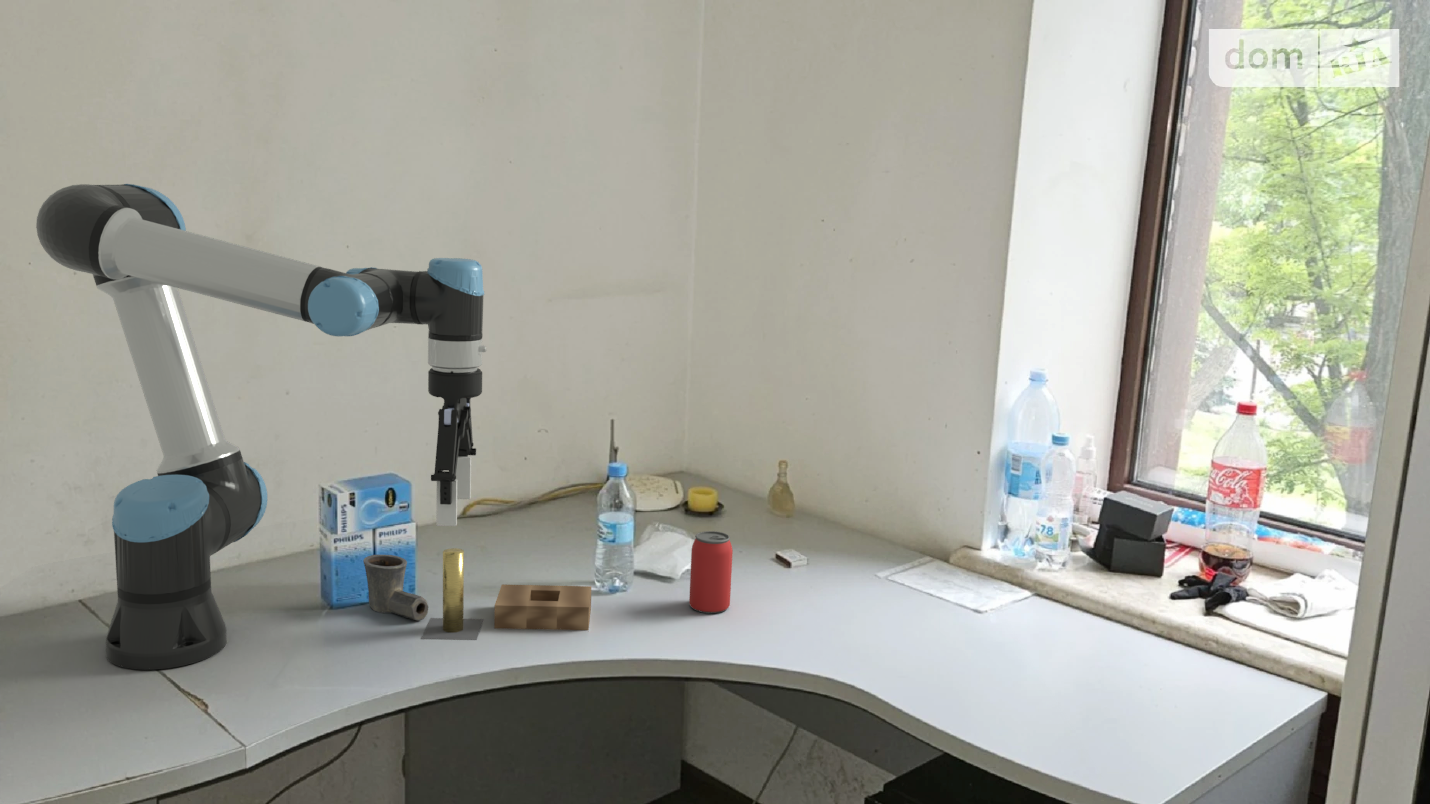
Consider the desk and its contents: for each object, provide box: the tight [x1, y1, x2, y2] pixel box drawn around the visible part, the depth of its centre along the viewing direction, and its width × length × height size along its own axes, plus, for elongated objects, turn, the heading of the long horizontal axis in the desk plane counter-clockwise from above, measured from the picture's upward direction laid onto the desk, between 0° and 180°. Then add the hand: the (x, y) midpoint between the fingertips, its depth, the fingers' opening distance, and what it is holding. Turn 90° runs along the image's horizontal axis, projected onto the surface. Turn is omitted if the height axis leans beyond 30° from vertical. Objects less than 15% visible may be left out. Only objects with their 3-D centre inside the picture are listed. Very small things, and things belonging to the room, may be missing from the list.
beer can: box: [688, 530, 733, 614], centre depth 181 cm, size 7×7×12 cm
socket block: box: [493, 584, 592, 631], centre depth 173 cm, size 14×9×4 cm, turn 94°
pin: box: [442, 547, 465, 633], centre depth 167 cm, size 3×3×12 cm
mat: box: [420, 617, 485, 641], centre depth 168 cm, size 8×8×1 cm
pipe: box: [363, 554, 429, 621], centre depth 173 cm, size 6×13×8 cm, turn 53°
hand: (454, 511), depth 165 cm, fingers open, 13 cm apart
